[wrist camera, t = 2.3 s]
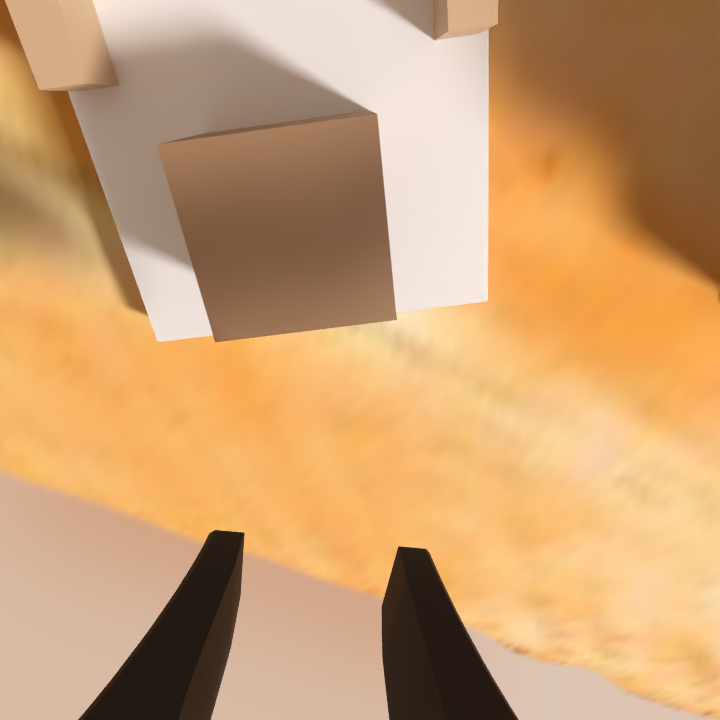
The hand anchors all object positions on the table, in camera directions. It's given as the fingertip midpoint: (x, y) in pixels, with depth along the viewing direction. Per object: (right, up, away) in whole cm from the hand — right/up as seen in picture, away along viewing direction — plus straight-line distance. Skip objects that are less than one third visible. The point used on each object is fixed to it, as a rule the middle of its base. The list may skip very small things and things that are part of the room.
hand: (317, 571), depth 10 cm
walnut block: (-1, +9, +5) cm, 11 cm away
